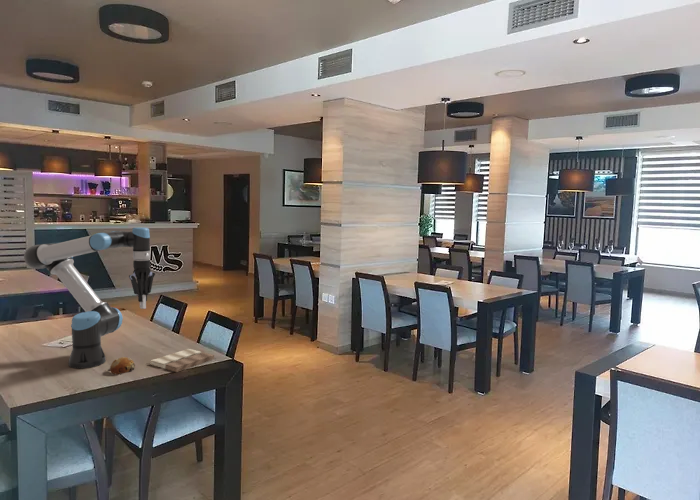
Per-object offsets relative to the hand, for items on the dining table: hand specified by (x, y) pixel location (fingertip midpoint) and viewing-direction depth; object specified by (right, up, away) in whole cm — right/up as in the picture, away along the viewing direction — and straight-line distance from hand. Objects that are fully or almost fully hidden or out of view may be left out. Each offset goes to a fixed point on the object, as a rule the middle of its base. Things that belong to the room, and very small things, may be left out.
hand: (142, 308), depth 234 cm
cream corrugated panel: (+17, -25, -2) cm, 30 cm away
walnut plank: (+25, -26, -8) cm, 37 cm away
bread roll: (-2, -26, -17) cm, 31 cm away
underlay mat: (+20, -25, -4) cm, 33 cm away
